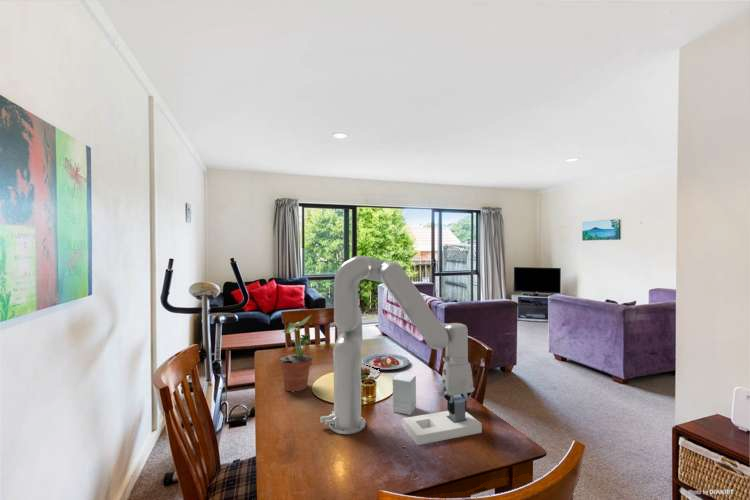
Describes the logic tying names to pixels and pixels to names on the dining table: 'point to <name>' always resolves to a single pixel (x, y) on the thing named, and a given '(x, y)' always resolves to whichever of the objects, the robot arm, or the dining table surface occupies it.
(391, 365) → the ceramic plate
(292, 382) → the potted plant
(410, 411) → the supplement box
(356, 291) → the robot arm
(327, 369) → the dining table surface
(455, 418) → the plug
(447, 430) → the socket panel
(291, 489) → the dining table surface
